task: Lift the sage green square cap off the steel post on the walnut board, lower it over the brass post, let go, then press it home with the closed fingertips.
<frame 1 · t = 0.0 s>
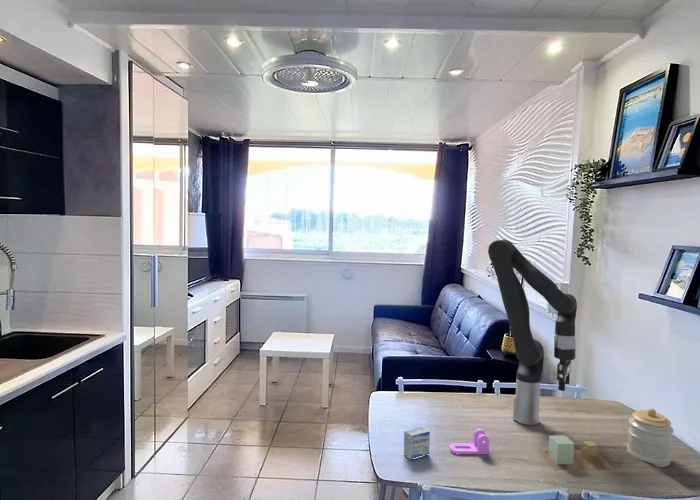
hand: (564, 387, 178), 17 cm above the table, tool pointing down, fingers open, 8 cm apart
walnut board: (574, 463, 155), on the table
jar: (648, 458, 160), on the table
bracket: (467, 451, 162), on the table
medicine box: (416, 455, 159), on the table
brass post: (588, 458, 155), resting on walnut board
steel post: (560, 451, 154), on the walnut board, point 4 cm above the table
sage cap: (561, 449, 154), on the walnut board, point 5 cm above the table
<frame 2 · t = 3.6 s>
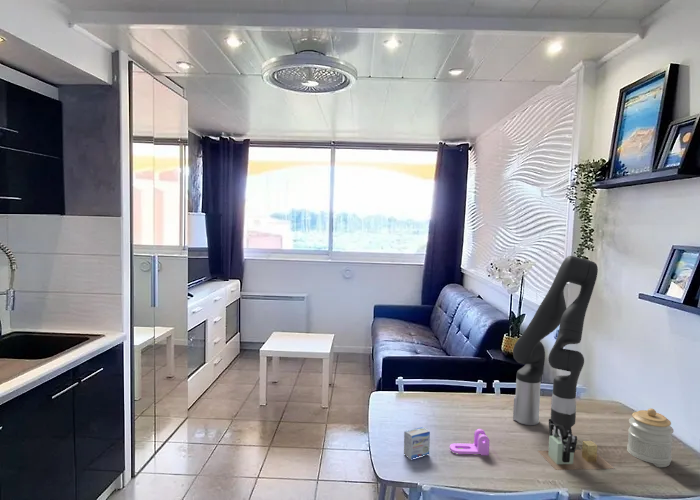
hand: (560, 456, 154), 3 cm above the table, tool pointing down, fingers closed on sage cap, 5 cm apart
sage cap: (561, 449, 154), on the walnut board, point 5 cm above the table, touching gripper
everything else where it was.
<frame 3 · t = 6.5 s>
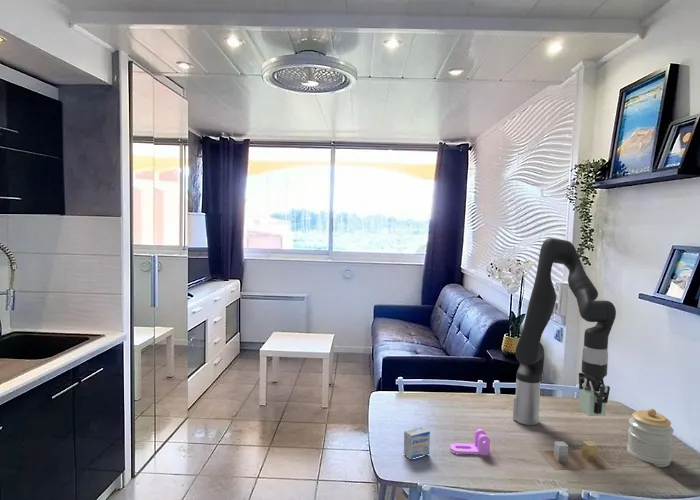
hand: (591, 409, 154), 19 cm above the table, tool pointing down, fingers closed on sage cap, 5 cm apart
sage cap: (592, 402, 154), point 21 cm above the table, touching gripper
everything else where it was.
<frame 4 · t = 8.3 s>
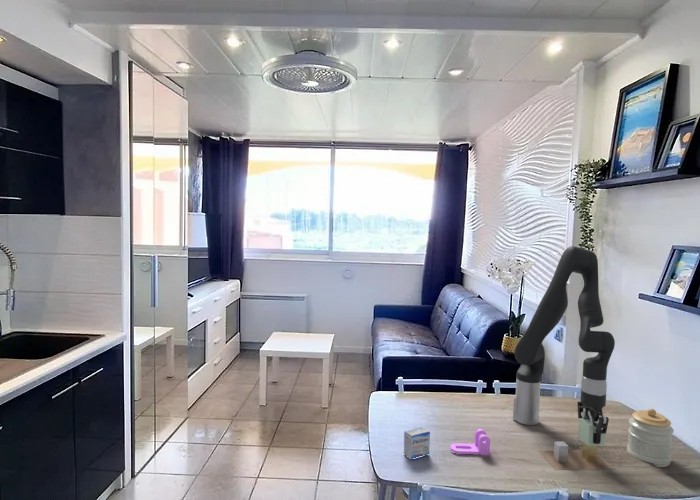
hand: (590, 438, 155), 9 cm above the table, tool pointing down, fingers closed on sage cap, 5 cm apart
sage cap: (591, 431, 155), point 11 cm above the table, touching gripper
everything else where it was.
when the fingers open (3 cm above the table, at t = 9.8 s): sage cap stays where it is, resting on walnut board.
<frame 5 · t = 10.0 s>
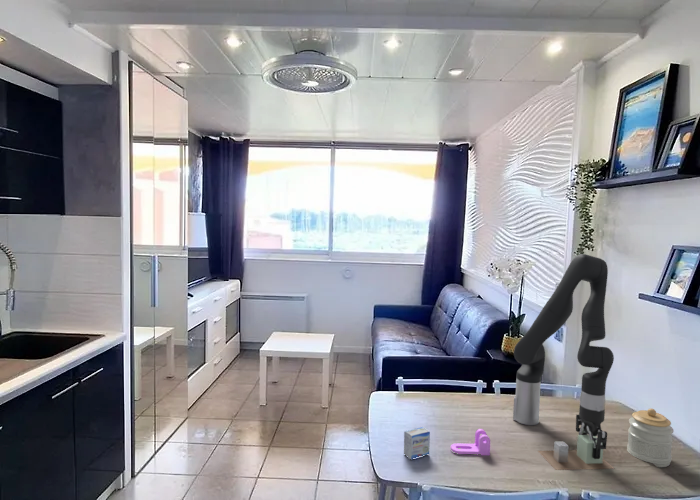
hand: (589, 452, 155), 4 cm above the table, tool pointing down, fingers open, 7 cm apart
sage cap: (589, 448, 155), on the walnut board, point 5 cm above the table
everything else where it was.
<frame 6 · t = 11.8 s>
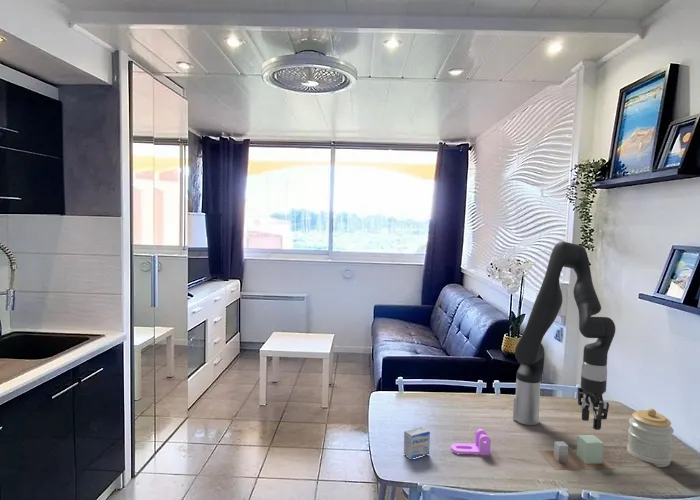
hand: (590, 424, 154), 14 cm above the table, tool pointing down, fingers open, 6 cm apart
nothing on the table moved.
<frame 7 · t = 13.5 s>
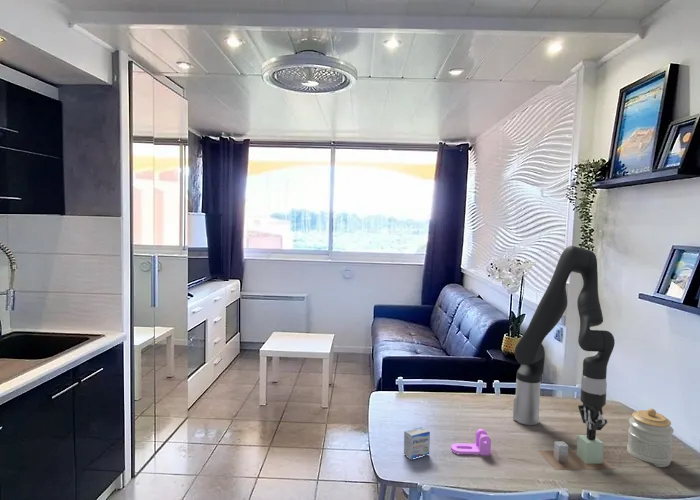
hand: (590, 439, 155), 8 cm above the table, tool pointing down, fingers closed
sage cap: (589, 449, 155), on the walnut board, point 5 cm above the table, touching gripper
everything else where it was.
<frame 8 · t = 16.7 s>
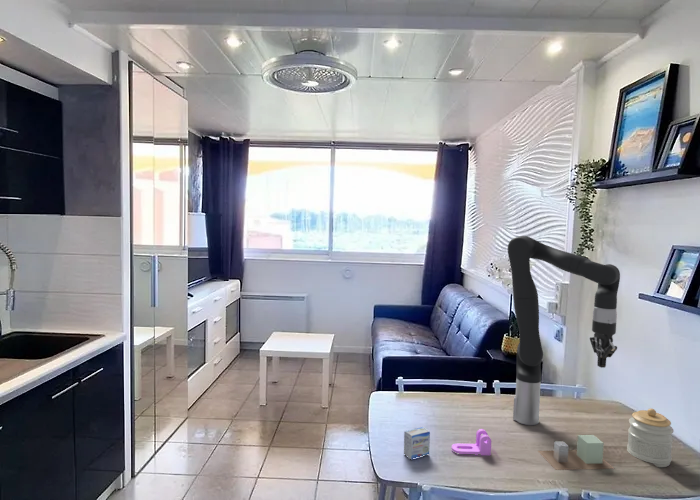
hand: (601, 366, 167), 29 cm above the table, tool pointing down, fingers closed
sage cap: (589, 449, 155), on the walnut board, point 5 cm above the table
everything else where it was.
at the end: sage cap 0.1 cm from the brass post (horizontally); sage cap point 5.0 cm above the table; the gripper is holding nothing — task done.
